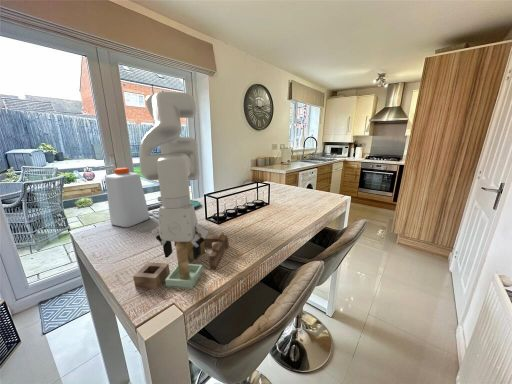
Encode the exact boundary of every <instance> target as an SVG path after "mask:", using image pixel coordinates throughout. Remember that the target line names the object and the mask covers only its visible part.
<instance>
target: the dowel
mask: <svg viewBox="0 0 512 384" xmlns="http://www.w3.org/2000/svg"><path fill="white" fill-rule="evenodd" d="M175 249H176V258H177V265H178V267H179V276H180V279H181V280H188V279H189V278H190V271H189V264H190V263H189V262H188V253H187V244H186V242H176V246H175Z"/></svg>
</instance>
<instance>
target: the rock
mask: <svg viewBox="0 0 512 384" xmlns="http://www.w3.org/2000/svg"><path fill="white" fill-rule="evenodd" d="M201 236H202V235H201V234H200V233H199V232H198V237H199V238H201ZM200 246H201V254H200V255H199V256H198V258H197V259H194V256H193V247H194V245H193V244H192V243H191V241H190V242H188V243H187V253H188V262H189V264H192V262H194V261H195V260H198V259H199V258H201V257H202V256H204V255H205V254H206V249H205V248H206V247H204V241H203V242H202V243H201V244H200Z"/></svg>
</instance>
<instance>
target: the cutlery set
mask: <svg viewBox="0 0 512 384" xmlns="http://www.w3.org/2000/svg"><path fill="white" fill-rule="evenodd" d="M190 201H191V204H193V207H194V209H196V208H197V207H200V206H201V204H202V203H201V202H200V201H198V200H194V199H190ZM155 215H159V210H152V213H151V212H149V217H152V218H154V219H157V220H159V216H155Z"/></svg>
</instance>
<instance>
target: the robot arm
mask: <svg viewBox="0 0 512 384" xmlns="http://www.w3.org/2000/svg"><path fill="white" fill-rule="evenodd" d="M145 105H146V108H147V111H148V113H149V115H150V117H151V118H152V119H153V127H152V128H151V129H149V131H147V132H146V133H145V135H144V136H143V138H142V139H141V142H140V144H139V150H138V151H139V152H138V153H139V154H138V155H139V156H138V157H139V158H138V159H139V169H140V173H141V175H142V177H143V178H144V179H145V180H149V181H158V184H159V191H160V192H159V193H160V196H157V201H158V202H161V203H160V204H161V205H160V206H159V209H158V211H159V214H158V217H159V219H158V226H157V227H156V228H154V229H152V231H151V233H152V234H153V236H155V238H156V240H157V241H158V242H159V243H160V245H161V246H162V248H163V249H162V250H163V254H164V258H169V257H170V256H171V255H172V254H173V246H172V242H174V241H177V242H190V241H191V243H192V244H193V245H194V247H193V256H194V259H196V260H198V259H199V258H198V256H199V255H200V254H201V246H200V244H201V243H202V242H203V241H204V240H205V238H206V237H207V236H209V233H210V232H209V231H208V230H206V229H204V228H203V227H202V226H200V225H199V224H198V218H197V213H196V210H195V209H196V208H194V207H193V204H191V201H190V200H191V194H190V185H189V184H190V183H189V181H195V180H198V179H199V178H200V161H199V151H198V150H199V149H198V144H197V141H196V139H195V138H193V137H190V136H180V135H182V131H183V130H182V129H183V128H182V124H181V118H182V119H193V118H195V116H196V115H197V105H196V100H195V99H194V96H192V94H191V93H188V92H179V91H178V92H176V91H173V92H172V91H158V92H156V93H152V94H148V95H146V97H145ZM158 147H159V148H160V149H159V150H160V153H156V154H154V153H153V151H154V150H155V149H157V148H158ZM198 233H200V234H201V235H202V236H201V238H199V237H198ZM197 258H198V259H197Z"/></svg>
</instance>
